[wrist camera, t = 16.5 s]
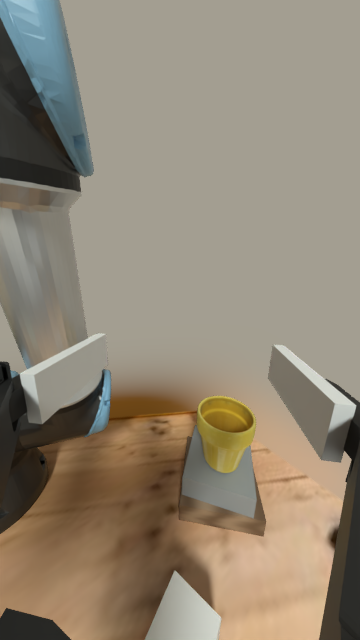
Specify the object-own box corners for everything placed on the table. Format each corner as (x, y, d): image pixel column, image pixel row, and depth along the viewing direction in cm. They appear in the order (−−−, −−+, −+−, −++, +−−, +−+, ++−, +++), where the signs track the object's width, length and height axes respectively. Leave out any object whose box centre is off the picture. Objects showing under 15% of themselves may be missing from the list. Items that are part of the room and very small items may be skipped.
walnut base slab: (178, 522, 32) (179, 504, 31) (187, 449, 46) (187, 436, 45) (262, 539, 30) (266, 521, 29) (245, 458, 44) (247, 444, 43)
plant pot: (222, 427, 43) (226, 389, 41) (261, 466, 34) (269, 420, 32) (184, 446, 37) (186, 403, 35) (219, 497, 29) (225, 445, 27)
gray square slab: (181, 494, 33) (182, 476, 32) (194, 439, 44) (195, 425, 43) (253, 518, 30) (256, 499, 29) (247, 452, 41) (249, 437, 40)
